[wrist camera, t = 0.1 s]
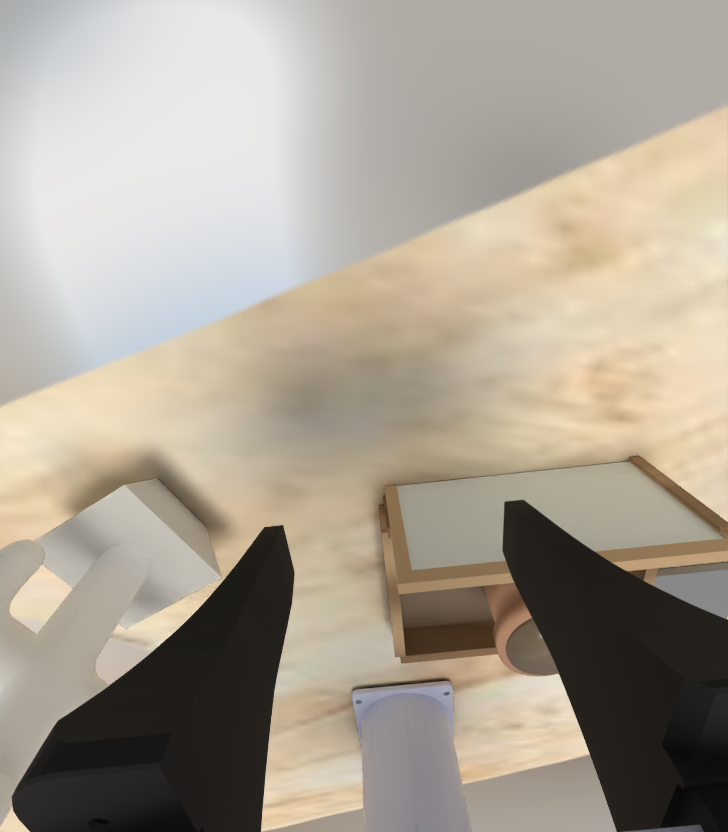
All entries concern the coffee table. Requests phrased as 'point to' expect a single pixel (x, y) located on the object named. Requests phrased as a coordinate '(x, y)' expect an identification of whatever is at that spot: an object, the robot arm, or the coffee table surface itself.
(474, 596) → the cold frame
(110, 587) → the figurine
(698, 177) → the coffee table surface
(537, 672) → the pot
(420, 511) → the lid
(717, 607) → the tile
